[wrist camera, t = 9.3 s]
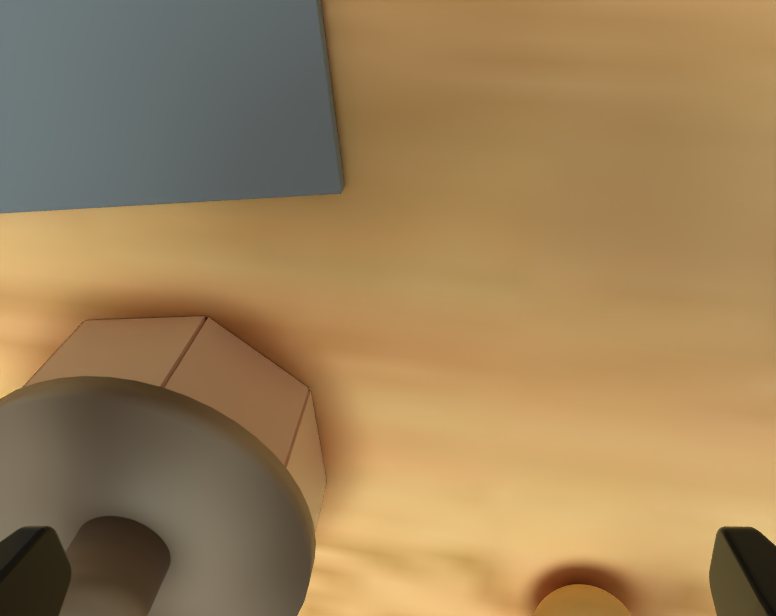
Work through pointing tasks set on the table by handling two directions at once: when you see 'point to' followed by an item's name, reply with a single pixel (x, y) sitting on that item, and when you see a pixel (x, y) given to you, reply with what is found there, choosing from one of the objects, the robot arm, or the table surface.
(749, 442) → the table surface
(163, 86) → the mat
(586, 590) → the figurine
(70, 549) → the lid
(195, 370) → the bowl
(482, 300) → the table surface
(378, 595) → the table surface
